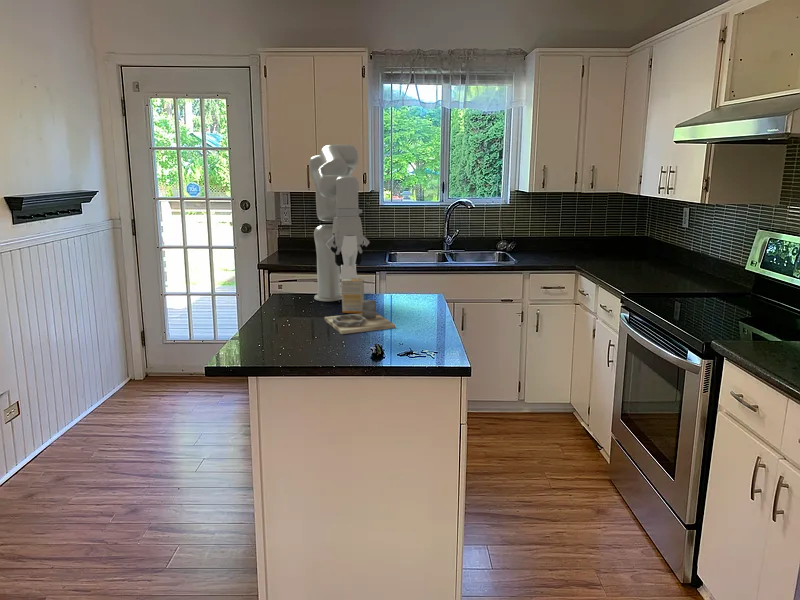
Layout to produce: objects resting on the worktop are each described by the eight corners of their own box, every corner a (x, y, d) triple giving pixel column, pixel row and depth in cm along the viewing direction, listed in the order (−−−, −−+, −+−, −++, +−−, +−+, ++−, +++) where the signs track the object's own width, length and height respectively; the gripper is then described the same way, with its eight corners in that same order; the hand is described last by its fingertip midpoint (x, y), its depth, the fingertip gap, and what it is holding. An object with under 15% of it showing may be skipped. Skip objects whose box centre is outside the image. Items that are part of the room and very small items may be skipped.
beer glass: (334, 278, 206) (334, 235, 202) (345, 275, 212) (345, 233, 208) (351, 280, 202) (351, 236, 199) (362, 276, 208) (361, 234, 205)
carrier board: (324, 320, 218) (324, 301, 217) (374, 314, 226) (374, 296, 225) (341, 334, 201) (340, 313, 199) (395, 327, 208) (395, 308, 207)
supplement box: (364, 310, 233) (364, 278, 230) (362, 313, 228) (362, 280, 225) (344, 310, 234) (343, 277, 231) (341, 313, 229) (341, 279, 226)
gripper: (367, 211, 209) (367, 261, 213) (319, 213, 202) (321, 264, 206) (374, 213, 202) (375, 265, 206) (326, 214, 195) (327, 268, 199)
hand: (348, 264), depth 206 cm, fingers closed on beer glass, 6 cm apart
